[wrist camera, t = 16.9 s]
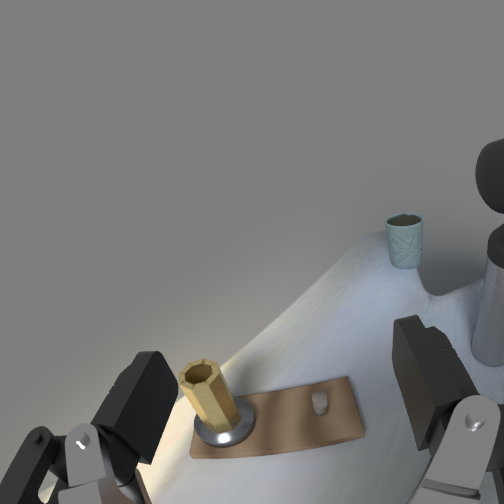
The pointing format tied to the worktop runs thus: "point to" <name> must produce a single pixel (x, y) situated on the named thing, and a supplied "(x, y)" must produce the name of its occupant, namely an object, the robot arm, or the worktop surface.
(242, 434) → the disc
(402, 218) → the pale green pot
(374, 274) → the worktop surface
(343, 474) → the worktop surface
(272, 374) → the worktop surface
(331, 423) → the walnut board
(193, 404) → the brass sleeve
